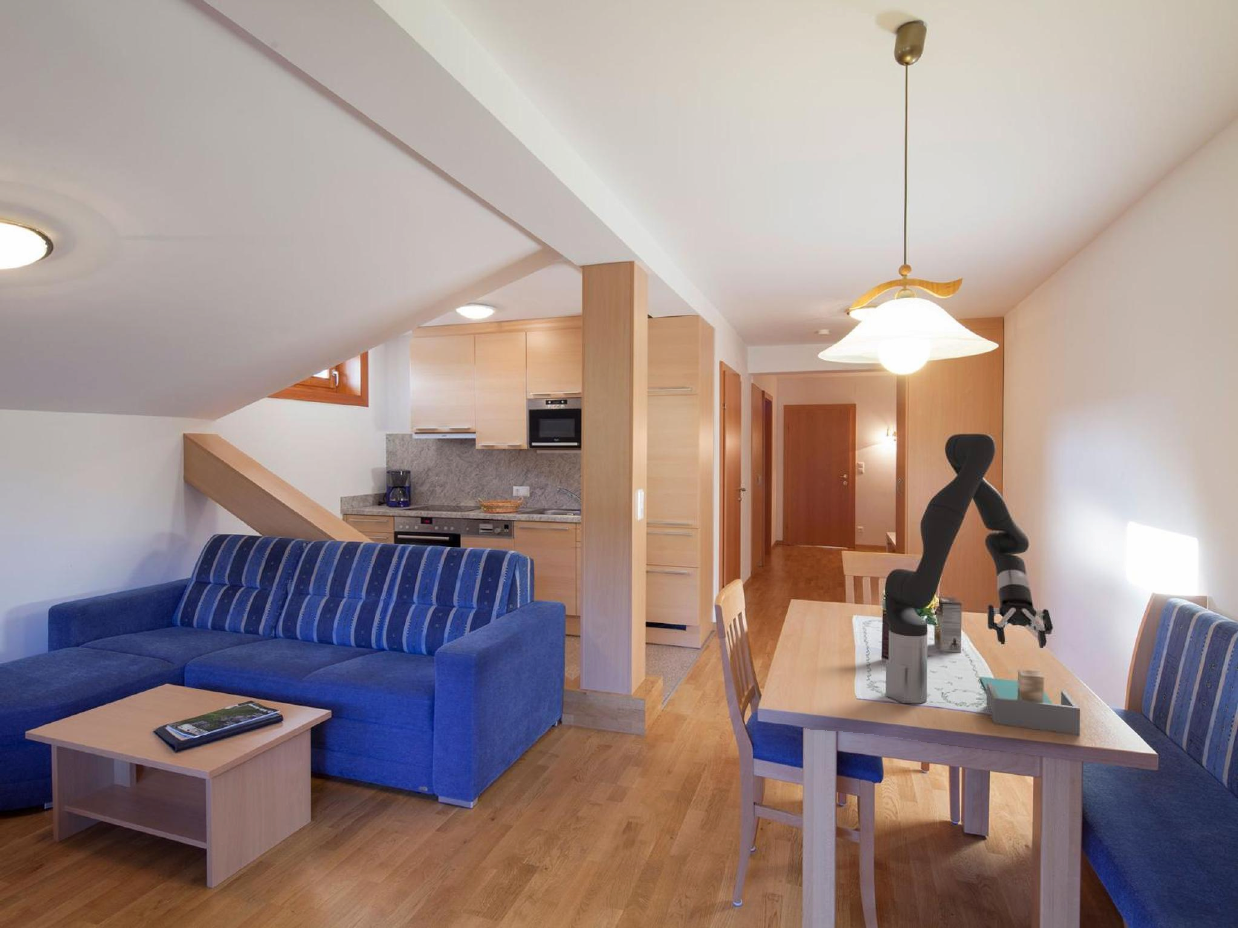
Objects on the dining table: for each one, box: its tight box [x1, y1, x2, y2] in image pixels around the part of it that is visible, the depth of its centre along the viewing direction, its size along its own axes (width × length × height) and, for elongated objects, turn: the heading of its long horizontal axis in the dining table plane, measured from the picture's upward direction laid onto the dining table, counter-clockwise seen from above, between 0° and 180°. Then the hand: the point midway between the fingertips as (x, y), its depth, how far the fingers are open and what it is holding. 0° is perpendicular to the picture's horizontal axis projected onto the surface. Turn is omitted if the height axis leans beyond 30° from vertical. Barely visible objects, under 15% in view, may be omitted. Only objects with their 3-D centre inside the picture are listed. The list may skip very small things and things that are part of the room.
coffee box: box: [933, 596, 963, 653], centre depth 217 cm, size 9×6×16 cm
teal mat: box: [979, 676, 1053, 704], centre depth 176 cm, size 14×18×1 cm
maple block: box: [1017, 669, 1045, 703], centre depth 158 cm, size 4×4×8 cm
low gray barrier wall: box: [986, 682, 1081, 736], centre depth 158 cm, size 17×12×6 cm
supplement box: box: [881, 608, 889, 663], centre depth 203 cm, size 9×5×16 cm, turn 105°
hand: (1022, 644), depth 167 cm, fingers open, 8 cm apart
